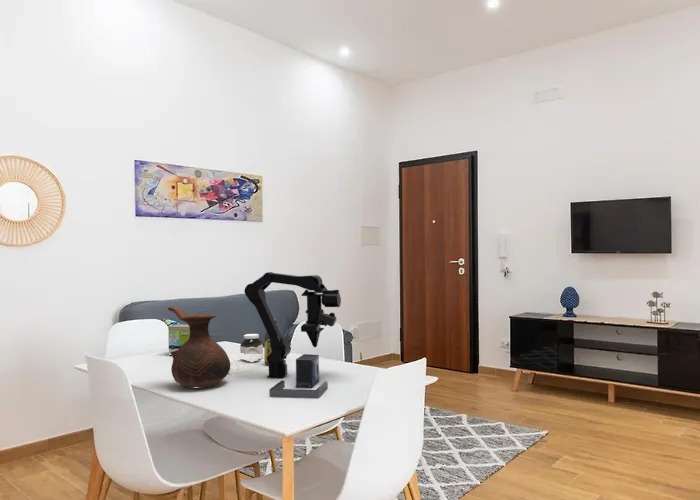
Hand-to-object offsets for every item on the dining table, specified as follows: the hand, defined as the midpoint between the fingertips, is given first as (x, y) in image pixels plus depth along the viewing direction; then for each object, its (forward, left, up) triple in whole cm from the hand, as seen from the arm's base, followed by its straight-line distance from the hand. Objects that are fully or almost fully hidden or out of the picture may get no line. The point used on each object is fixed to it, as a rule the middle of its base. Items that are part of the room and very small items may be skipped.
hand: (315, 346), depth 216 cm
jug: (-41, -16, -12) cm, 45 cm away
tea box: (-77, +42, -12) cm, 89 cm away
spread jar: (-38, +30, -12) cm, 50 cm away
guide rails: (0, -23, -12) cm, 26 cm away
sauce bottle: (-26, +22, -12) cm, 36 cm away
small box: (0, -12, -12) cm, 17 cm away
